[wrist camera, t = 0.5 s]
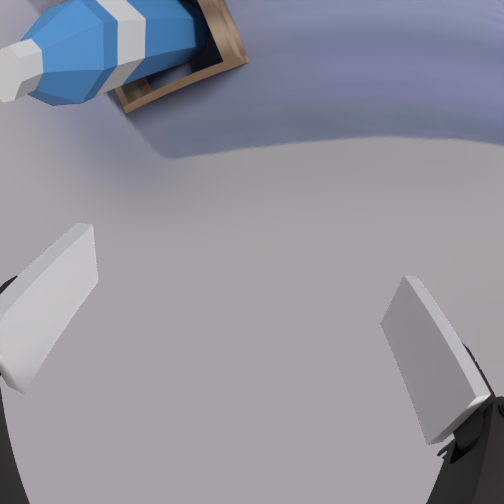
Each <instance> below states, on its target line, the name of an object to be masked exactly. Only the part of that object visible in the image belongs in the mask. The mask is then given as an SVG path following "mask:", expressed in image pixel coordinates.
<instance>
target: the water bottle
mask: <svg viewBox="0 0 504 504" xmlns="http://www.w3.org/2000/svg"><path fill="white" fill-rule="evenodd" d="M206 34H207V21H206V19H205V16H204V15H203V14H202V13H201V12H200V11H199V10H198V9H197V8H196V7H195V6H193V5H192V4H191V3H190V2H186V1H178V0H71V1H68V2H65V3H63V4H60V5H57V6H55V7H52V8H49V9H47V10H46V11H45V12H44V13H43V14H42V15H41V16H40V18H39V19H38V20H37V21H36V22H35V23H34V25H33V26H32V27H31V28H30V30H29V31H28V32H27V33H26V35H25V36H24V37H23V38H22V40H21V41H20V42H18V43H15V44H12V45H9V46H7V47H5V48H2V49H0V99H1V101H2V102H8V101H12V100H16V99H18V98H20V97H22V96H24V95H26V94H28V95H30V96H32V97H34V98H36V99H39V100H41V101H43V102H45V103H48V104H50V105H52V106H53V105H66V104H81V103H84V102H86V101H88V100H90V99H92V98H94V97H96V96H98V95H101V94H103V93H105V92H107V91H110V90H112V89H114V88H117V87H119V86H121V85H124V84H126V83H129V82H131V81H134V80H137V79H139V78H142V77H145V76H148V75H150V74H153V73H156V72H159V71H162V70H165V69H168V68H171V67H174V66H178V65H181V64H184V63H187V62H188V61H189V60H190V59H191V58H192V57H193V56H194V55H195V54H196V53H197V52H199V51H200V50H201V49H202V48H203V47H204V46H205V45H206Z"/></svg>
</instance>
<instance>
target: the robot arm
mask: <svg viewBox="0 0 504 504" xmlns="http://www.w3.org/2000/svg"><path fill="white" fill-rule="evenodd" d="M98 281H99V280H98V273H97V264H96V255H95V244H94V231H93V225H90V224H83V223H77V224H76V225H75V226H74V227H72V228H71V229H70V230H69V231H68V232H66V234H64V235H63V236H62V237H61V238H59V239H58V240H57V241H56V242H55V243H54V244H52V245H51V246H50V247H49V248H48V249H47V250H46V251H45V252H44V253H42V254H41V255H40V256H39V257H38V258H37V259H36V260H35V261H34V262H33V263H32V264H30V266H28V267H27V268H26V269H25V270H24V271H23V272H22V273H21V274H20V275H19V276H15V277H13V278H12V279H10V280H8V281H7V282H5V283H4V284H3V285H2V286H1V287H0V376H1V375H2V377H3V378H4V380H5V382H6V383H7V385H8V386H9V387H11V388H13V389H15V390H17V391H19V392H21V393H23V394H25V392H26V390H27V388H28V387H29V385H30V383H31V381H32V379H33V378H34V376H35V375H36V373H37V371H38V369H39V368H40V366H41V364H42V363H43V361H44V360H45V358H46V356H47V355H48V353H49V352H50V350H51V349H52V347H53V345H54V344H55V342H56V341H57V339H58V338H59V336H60V335H61V333H62V332H63V330H64V329H65V327H66V326H67V324H68V323H69V321H70V320H71V318H72V317H73V315H74V314H75V313H76V311H77V310H78V308H79V307H80V306H81V304H82V303H83V301H84V300H85V299H86V297H87V296H88V295H89V293H90V292H91V290H92V289H93V288H94V286H95V285H96V284H97V282H98ZM381 326H382V328H383V331H384V333H385V335H386V338H387V340H388V342H389V345H390V347H391V349H392V351H393V354H394V357H395V359H396V361H397V364H398V366H399V369H400V371H401V374H402V376H403V379H404V381H405V384H406V387H407V389H408V392H409V395H410V397H411V400H412V403H413V406H414V408H415V411H416V414H417V417H418V420H419V423H420V425H421V429H422V432H423V435H424V438H425V441H426V444H427V445H430V444H435V443H439V442H442V441H444V440H445V439H446V438H447V437H448V436H449V435H451V434H452V433H453V434H454V437H455V439H453V440H452V441H451V442H450V443H449V444H448V445H446V446H445V447H444V448H443V449H441V450H440V451H439V453H438V454H437V456H440V455H441V454H443V453H444V452H445V451H447V453H446V455H444V456H443V457H442V458H443V459H444V462H443V465H442V467H441V470H440V473H439V475H438V478H437V480H436V483H435V485H434V487H433V490H432V492H431V494H430V497H429V499H428V501H427V503H426V504H504V397H502V396H501V397H497V398H496V396H495V394H494V392H493V390H492V389H491V387H490V385H489V383H488V381H487V379H486V378H485V376H484V374H483V372H482V370H481V369H479V368H480V367H479V365H478V364H477V362H475V358H474V357H473V355H472V353H471V352H470V350H469V349H468V348H467V347H466V346H465V345H464V344H463V343H462V342H461V340H460V339H459V337H458V336H457V334H456V333H455V331H454V329H453V328H452V326H451V325H450V323H449V322H448V320H447V319H446V317H445V316H444V315H443V313H442V311H441V310H440V308H439V307H438V305H437V304H436V302H435V301H434V299H433V298H432V297H431V295H430V294H429V292H428V291H427V290H426V289H425V287H424V286H423V284H422V283H421V281H420V280H419V279H418V277H414V276H408V275H404V276H403V278H402V280H401V282H400V285H399V287H398V289H397V291H396V293H395V295H394V297H393V300H392V302H391V304H390V306H389V308H388V310H387V312H386V314H385V316H384V318H383V320H382V322H381ZM0 504H30V503H29V501H28V498H27V496H26V493H25V490H24V487H23V484H22V481H21V478H20V475H19V472H18V469H17V465H16V462H15V458H14V455H13V451H12V447H11V443H10V439H9V434H8V430H7V425H6V420H5V414H4V408H3V402H2V395H1V388H0Z"/></svg>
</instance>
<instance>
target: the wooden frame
mask: <svg viewBox="0 0 504 504" xmlns="http://www.w3.org/2000/svg"><path fill="white" fill-rule="evenodd" d="M198 2H199V5H200V7H201V9H202V12H203V14H204V16H205V19H206V21H207V23H208V26H209V28H210V30H211V33H212V35H213V37H214V40H215V42H216V45H217V47H218V50H219V52H220V54H221V57H222V59H223V62H221V63H219V64H216V65H213V66H211V67H208V68H206V69H203V70H200V71H198V72H195V73H193V74H191V75H188V76H186V77H184V78H181V79H179V80H177V81H174V82H172V83H170V84H168V85H166V86H164V87H161V88H159V89H157V90H155V91H152V89H151V87H150V85H149V83H148V80H147V78H146V76H145V77H142V78H139V79H137V80H134V81H131V82H129V83H126V84H124V85H121V86H119V87H117V88H114V89H115V91H116V93H117V95H118V97H119V100H120V102H121V104H122V106H123V108H124V110H125V112H126V114H127V113H129V112H131V111H133V110H135V109H137V108H138V107H140V106H142V105H145V104H147V103H149V102H151V101H153V100H155V99H157V98H159V97H161V96H163V95H166V94H168V93H170V92H172V91H175V90H177V89H179V88H182V87H184V86H186V85H189V84H191V83H194V82H196V81H199V80H201V79H204V78H207V77H209V76H212V75H215V74H217V73H220V72H223V71H226V70H229V69H232V68H234V67H237V66H240V65H242V64H245V63H248V62H249V59H248V56H247V54H246V51H245V49H244V46H243V44H242V41H241V39H240V36H239V34H238V31H237V29H236V26H235V24H234V22H233V19H232V17H231V14H230V12H229V10H228V7H227V5H226V3H225V0H198Z"/></svg>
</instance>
